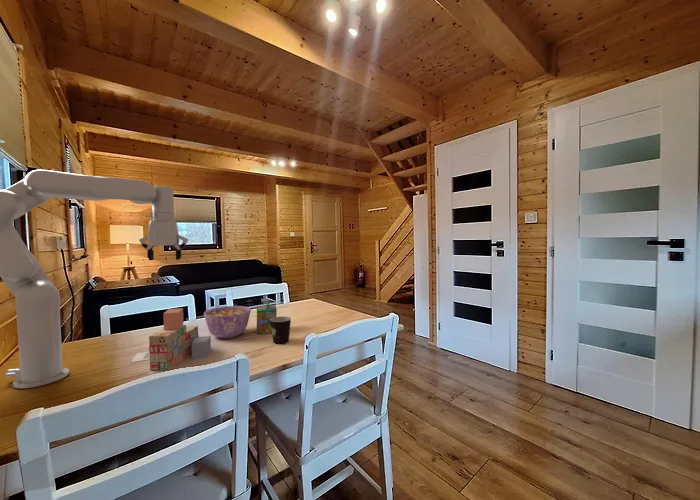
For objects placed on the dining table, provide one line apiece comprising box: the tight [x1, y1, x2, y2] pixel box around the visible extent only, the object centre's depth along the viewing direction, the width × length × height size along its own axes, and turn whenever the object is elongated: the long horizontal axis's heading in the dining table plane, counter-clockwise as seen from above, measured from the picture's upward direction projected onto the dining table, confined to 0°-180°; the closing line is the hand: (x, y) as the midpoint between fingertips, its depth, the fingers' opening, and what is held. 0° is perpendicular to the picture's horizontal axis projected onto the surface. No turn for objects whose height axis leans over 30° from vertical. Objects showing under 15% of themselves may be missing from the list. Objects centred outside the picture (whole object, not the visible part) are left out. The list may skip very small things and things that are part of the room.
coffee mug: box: [270, 316, 292, 345], centre depth 131 cm, size 12×9×10 cm
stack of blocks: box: [148, 324, 200, 371], centre depth 113 cm, size 21×6×12 cm, turn 0°
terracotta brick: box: [163, 307, 184, 330], centre depth 112 cm, size 5×7×6 cm
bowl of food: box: [203, 305, 252, 339], centre depth 139 cm, size 20×20×12 cm
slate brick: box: [191, 335, 212, 359], centre depth 117 cm, size 5×7×6 cm
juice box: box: [256, 299, 278, 335], centre depth 145 cm, size 9×9×15 cm
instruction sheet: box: [131, 351, 150, 363], centre depth 116 cm, size 12×9×1 cm
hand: (164, 259), depth 122 cm, fingers open, 9 cm apart
